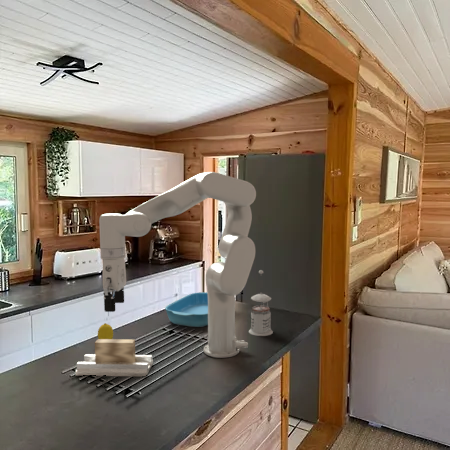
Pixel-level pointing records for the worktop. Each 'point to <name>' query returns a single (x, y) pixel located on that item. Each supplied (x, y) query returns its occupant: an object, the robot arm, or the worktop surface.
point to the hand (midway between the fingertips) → (114, 306)
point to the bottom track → (114, 367)
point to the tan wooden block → (115, 350)
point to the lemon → (105, 332)
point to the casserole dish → (189, 310)
